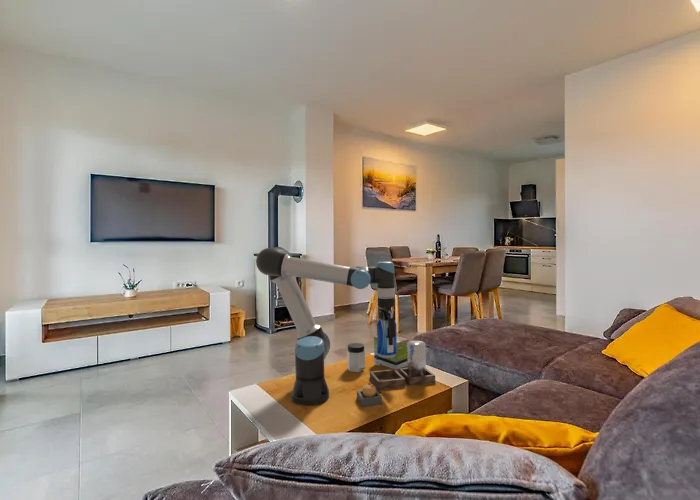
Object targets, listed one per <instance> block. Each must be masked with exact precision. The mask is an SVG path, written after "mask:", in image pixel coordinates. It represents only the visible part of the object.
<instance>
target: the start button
mask: <svg viewBox="0 0 700 500" xmlns="http://www.w3.org/2000/svg"><path fill="white" fill-rule="evenodd" d="M362 390H363V396H364V397H366V398H367V397H375V396H376V387H375V386H373V385H372V384H365V385H363V386H362Z"/></svg>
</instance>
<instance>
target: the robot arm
mask: <svg viewBox="0 0 700 500" xmlns="http://www.w3.org/2000/svg"><path fill="white" fill-rule="evenodd" d="M255 264H256V268H257V269H258V271H259V272H260V273H262V274H263V275H265V276H268V277H269V280H270V282H272V283H274V284H276V286H277V288H278V289H277V290H278V291H279V293H280V296H281V297H282V299H283V302H284V304H285V306H286V309H287V310H288V313H289V315H290V318H291V320H292V322H293V324H294V325H295V328H296V330H297V336H296V339H297V341H296V342H295V345H294V358H295V359H294V360H295V362H294V363H295V381H294V384H293V388H292V391H291V401H292V402H293V403H295V404H297V405H301V406H315V405H320V404H322V403H325V402H326V401H327V400H329V398H330V390H329V387H328V384H327V382H326V379H325V360H326V357H327V355H328V354H329V352H330V348H331V340H330V337H329V336H328V334H327V333H326V332H325V331H324V330H323V328H322V326H321V325H320V324H318V323H316V321H315V319H314V316H313V315H312V313H311V310H310V308H309V305H308V303H307V302H306V298H305V297H304V295H303V292H302V290H301V289H300V285H299V284H298V281H297V280H296V277H297V278H302V279H308V280H314V281H319V282H326V283H331V284H332V283H333V284H337V285H343V286H349V287H352V288H355V289H357V290H363V289H366V288H368V287H369V285H372V284H374V285H376V293H377V294H376V296H377V298H376V299H377V306H378V307H379V308H378V320H379V319H380V318H381V319H384V321H386V323H387V321H388V327H389V328H387V336H386V338H387V353H390V352H393V337H395V336H396V335H395V323H396V321H395V314H396V313H394V312H393V310H392V308H394V307H395V306H396V299H395V294H396V293H395V292H396V289H395V286H396V285H395V281H396V280H395V278H396V277H395V276H396V274H395V273H396V271H395V264H394V262H393V261H378V262H377V263H376V266H347V265H346V266H344V265H339V264H334V263H329V262H322V261H316V260H311V259H304V258H298V257H293V256H292V254H291V253H290V251H289V250H288V249H285V248H283V247H281V246H274V247H266V248H264V249H261V251H259V253H258V254H257V256H256V259H255Z"/></svg>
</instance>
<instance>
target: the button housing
mask: <svg viewBox="0 0 700 500" xmlns="http://www.w3.org/2000/svg"><path fill="white" fill-rule="evenodd" d="M356 400H357V401H358V403H359V404H360V406H361V408H366V407H371V406H372V407H373V406H380V405H381V406H382V405H383V397H382V395H381V394H379V392H378V391H377V390H376V396H375V397H367V398H366V397H364V396H363V389H360V390H356Z"/></svg>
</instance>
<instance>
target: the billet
mask: <svg viewBox="0 0 700 500" xmlns="http://www.w3.org/2000/svg"><path fill="white" fill-rule="evenodd" d="M426 346H427V345H426V342H425V341H422V340H409V342H407V364H408V365H407V368H408V375H409V376H410V377H418V376H426V369H427V367H426V366H427V364H426V361H427V360H426V359H427V357H426V355H427V353H426V351H427V349H426Z"/></svg>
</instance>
